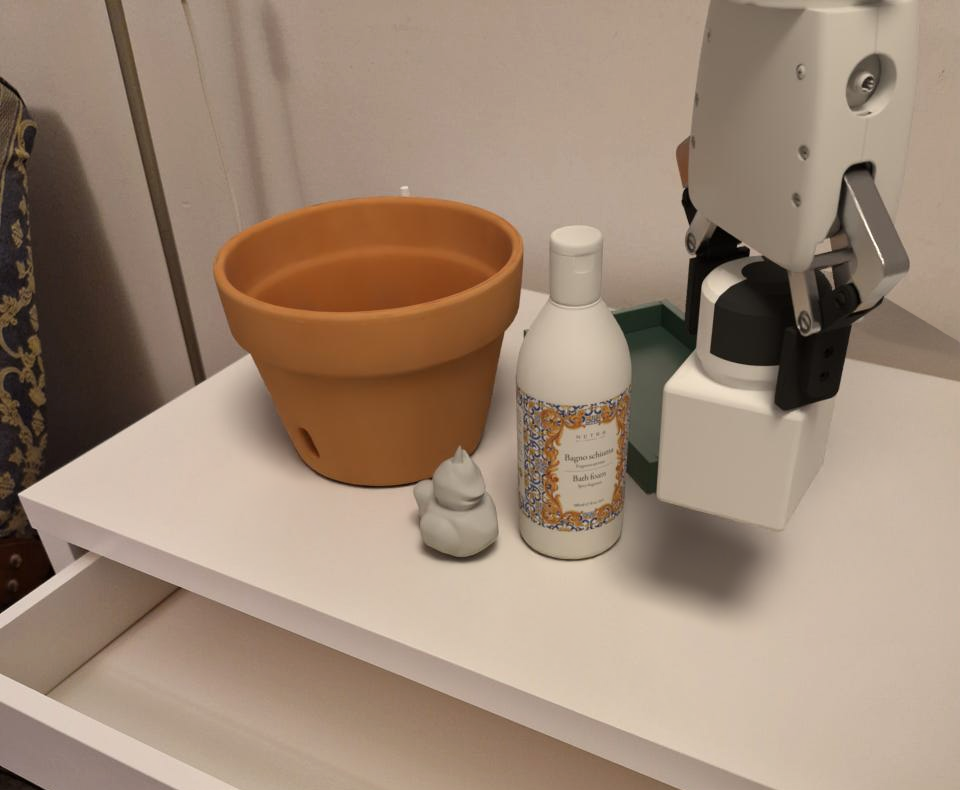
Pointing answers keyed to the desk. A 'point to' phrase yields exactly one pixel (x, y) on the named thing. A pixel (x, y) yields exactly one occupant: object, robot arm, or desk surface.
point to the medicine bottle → (740, 405)
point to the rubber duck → (456, 508)
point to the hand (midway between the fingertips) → (756, 360)
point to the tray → (650, 378)
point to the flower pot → (375, 327)
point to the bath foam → (573, 408)
